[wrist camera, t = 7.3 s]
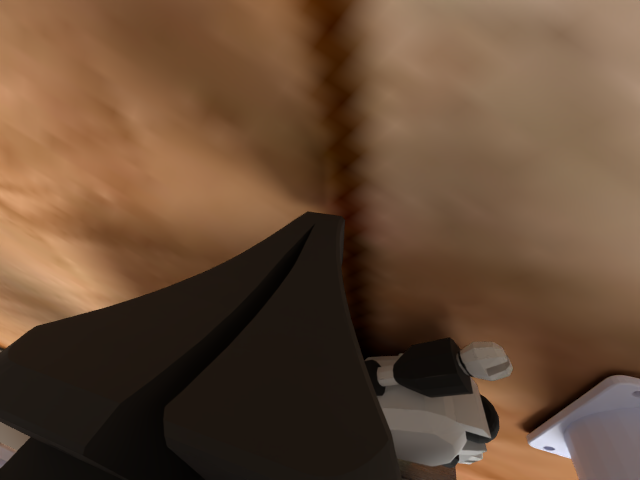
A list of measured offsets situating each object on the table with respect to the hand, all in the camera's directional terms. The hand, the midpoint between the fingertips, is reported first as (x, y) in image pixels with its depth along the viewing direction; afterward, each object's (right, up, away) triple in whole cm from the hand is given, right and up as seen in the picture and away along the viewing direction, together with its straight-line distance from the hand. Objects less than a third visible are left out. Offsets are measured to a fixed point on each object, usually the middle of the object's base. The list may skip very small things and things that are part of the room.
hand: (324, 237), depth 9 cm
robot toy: (+2, -7, +7) cm, 11 cm away
